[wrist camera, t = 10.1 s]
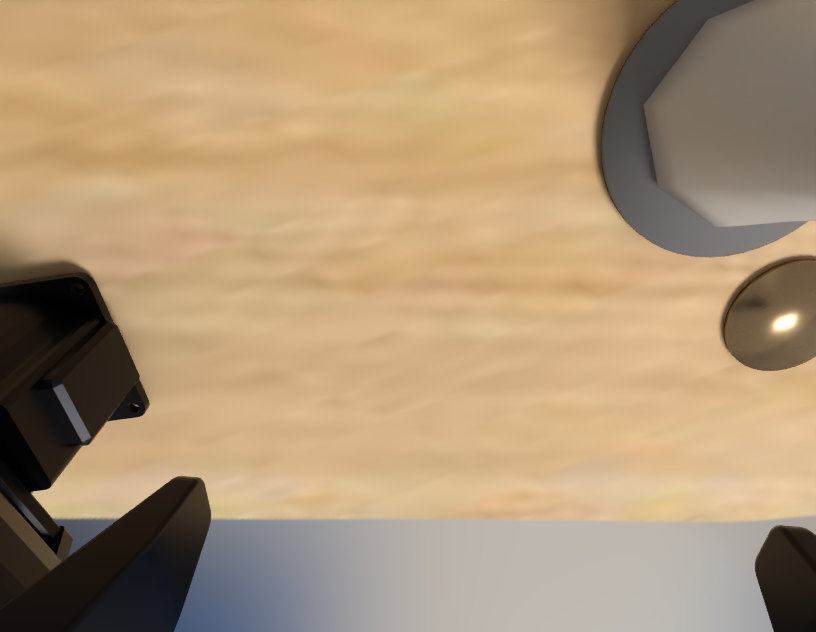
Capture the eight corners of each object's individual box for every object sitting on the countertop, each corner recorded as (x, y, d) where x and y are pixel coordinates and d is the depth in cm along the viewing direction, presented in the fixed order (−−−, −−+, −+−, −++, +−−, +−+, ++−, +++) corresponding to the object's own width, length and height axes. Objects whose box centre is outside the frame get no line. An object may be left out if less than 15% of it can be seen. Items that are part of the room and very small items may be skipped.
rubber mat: (598, 270, 21) (600, 273, 20) (605, -15, 16) (608, -15, 16) (848, 235, 20) (855, 238, 20) (924, -67, 16) (933, -68, 16)
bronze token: (716, 375, 23) (719, 377, 23) (732, 269, 21) (735, 271, 21) (835, 359, 23) (838, 362, 23) (864, 250, 21) (868, 252, 20)
